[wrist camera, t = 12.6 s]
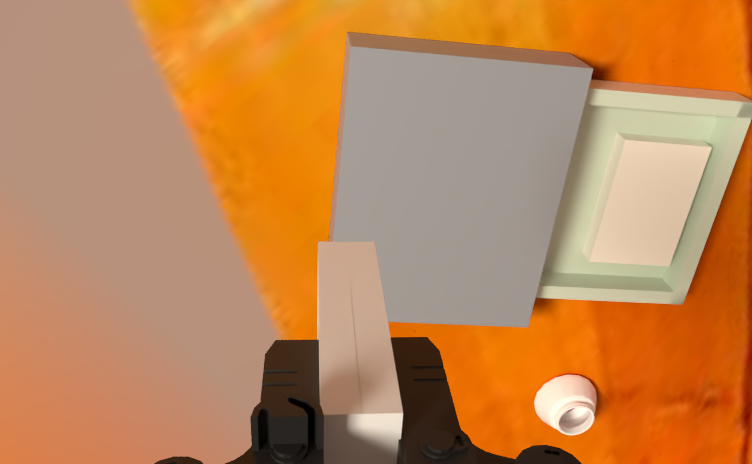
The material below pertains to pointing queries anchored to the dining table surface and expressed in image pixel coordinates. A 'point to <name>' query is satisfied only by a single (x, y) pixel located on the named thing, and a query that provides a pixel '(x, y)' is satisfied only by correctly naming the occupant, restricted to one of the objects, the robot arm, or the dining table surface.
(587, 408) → the white jar
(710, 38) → the dining table surface
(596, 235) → the card
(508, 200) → the grey drawer casing
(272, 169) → the dining table surface
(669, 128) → the tray
